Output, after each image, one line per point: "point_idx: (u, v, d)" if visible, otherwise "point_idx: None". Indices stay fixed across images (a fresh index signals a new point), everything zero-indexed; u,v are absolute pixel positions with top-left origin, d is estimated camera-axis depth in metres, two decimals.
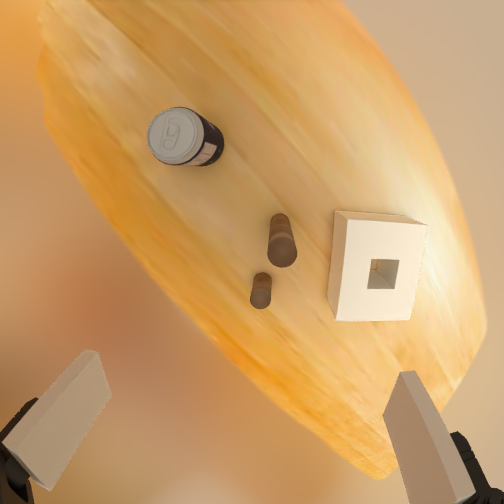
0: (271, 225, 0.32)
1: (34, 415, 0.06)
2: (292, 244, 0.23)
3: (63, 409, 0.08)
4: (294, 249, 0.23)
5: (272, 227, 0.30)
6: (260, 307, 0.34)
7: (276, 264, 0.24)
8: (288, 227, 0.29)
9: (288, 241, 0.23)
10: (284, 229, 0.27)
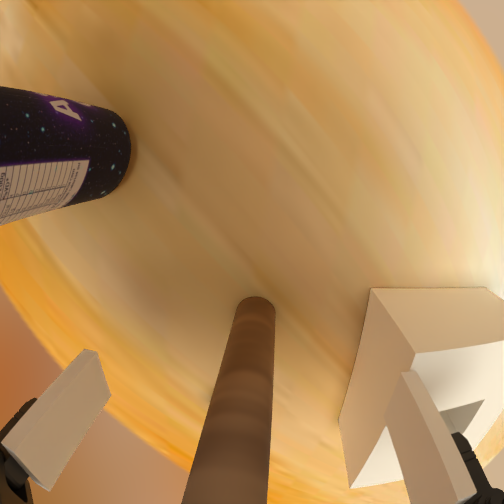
0: (225, 352, 0.13)
1: (33, 415, 0.06)
2: None
3: (62, 409, 0.08)
4: None
5: (220, 379, 0.11)
6: None
7: None
8: (260, 390, 0.10)
9: None
10: (241, 428, 0.08)
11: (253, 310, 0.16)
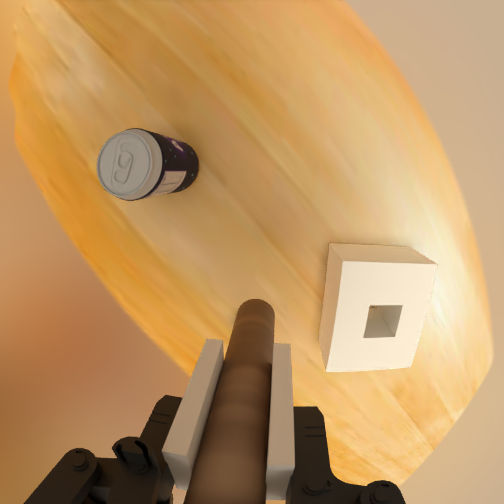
0: (227, 350, 0.14)
1: (189, 412, 0.08)
2: None
3: (208, 400, 0.10)
4: None
5: (223, 374, 0.11)
6: None
7: None
8: (260, 384, 0.11)
9: None
10: (243, 418, 0.09)
11: (254, 311, 0.17)
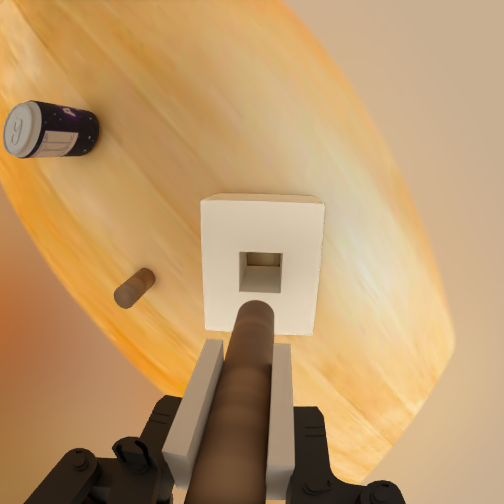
0: (227, 352, 0.14)
1: (189, 411, 0.08)
2: None
3: (208, 399, 0.10)
4: None
5: (223, 376, 0.11)
6: (125, 306, 0.28)
7: None
8: (260, 385, 0.11)
9: None
10: (243, 420, 0.09)
11: (253, 312, 0.16)
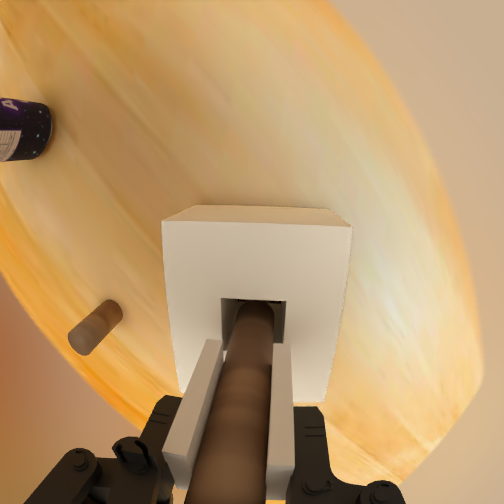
0: (227, 352, 0.14)
1: (189, 412, 0.08)
2: None
3: (208, 400, 0.10)
4: None
5: (223, 376, 0.11)
6: (82, 353, 0.20)
7: None
8: (260, 385, 0.11)
9: None
10: (243, 420, 0.09)
11: (253, 312, 0.16)
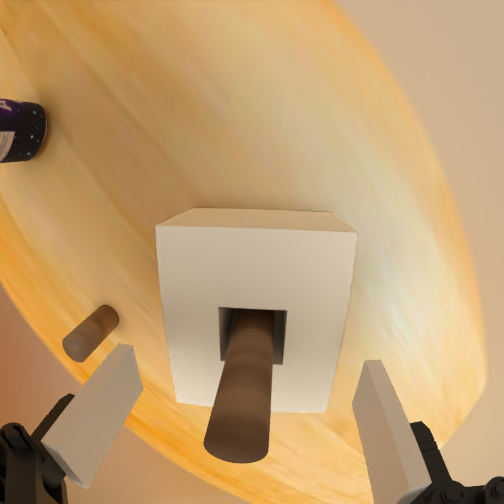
0: (237, 318, 0.17)
1: (74, 411, 0.07)
2: (257, 439, 0.08)
3: (101, 403, 0.09)
4: (262, 445, 0.09)
5: (234, 334, 0.15)
6: (77, 360, 0.19)
7: (224, 459, 0.09)
8: (264, 340, 0.14)
9: (248, 434, 0.08)
10: (251, 362, 0.12)
11: None
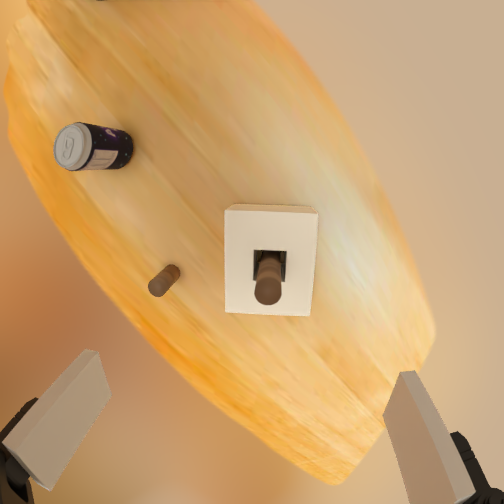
0: (261, 258, 0.34)
1: (34, 415, 0.06)
2: (277, 285, 0.25)
3: (63, 409, 0.08)
4: (279, 289, 0.25)
5: (261, 261, 0.32)
6: (157, 295, 0.35)
7: (262, 303, 0.26)
8: (276, 262, 0.31)
9: (273, 282, 0.25)
10: (271, 266, 0.29)
11: None
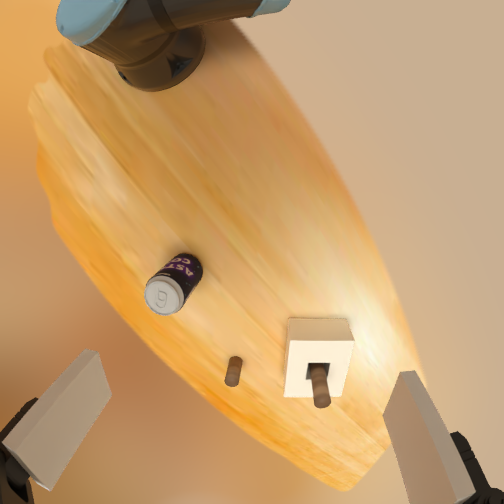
0: (310, 363, 0.44)
1: (34, 415, 0.06)
2: (329, 398, 0.36)
3: (63, 409, 0.08)
4: (329, 400, 0.36)
5: (312, 370, 0.42)
6: (232, 385, 0.46)
7: (318, 407, 0.36)
8: (323, 371, 0.41)
9: (326, 397, 0.36)
10: (322, 379, 0.39)
11: None
